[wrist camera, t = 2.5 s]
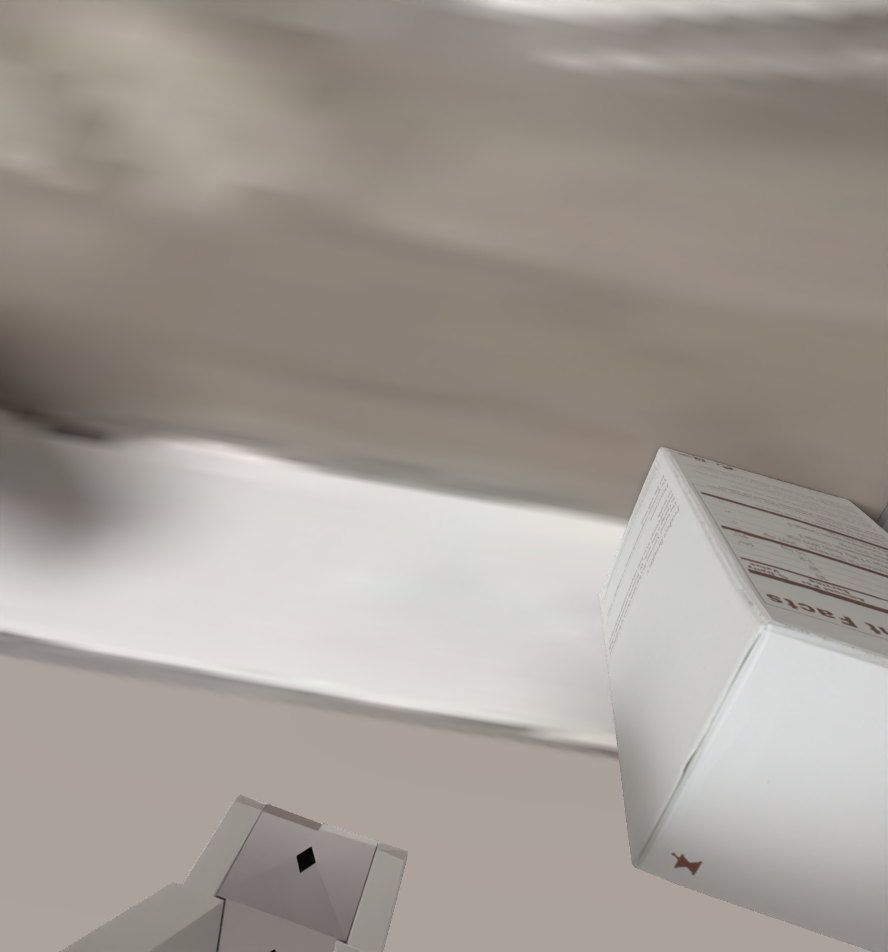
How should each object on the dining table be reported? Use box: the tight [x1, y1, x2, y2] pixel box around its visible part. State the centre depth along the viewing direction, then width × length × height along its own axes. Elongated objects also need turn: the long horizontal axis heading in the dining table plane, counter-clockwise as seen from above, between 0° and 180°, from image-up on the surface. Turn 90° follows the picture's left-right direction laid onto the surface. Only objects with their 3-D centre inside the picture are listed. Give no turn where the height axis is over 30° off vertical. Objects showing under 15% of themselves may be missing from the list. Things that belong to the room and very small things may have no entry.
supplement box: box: [599, 447, 888, 952], centre depth 18 cm, size 7×7×13 cm
